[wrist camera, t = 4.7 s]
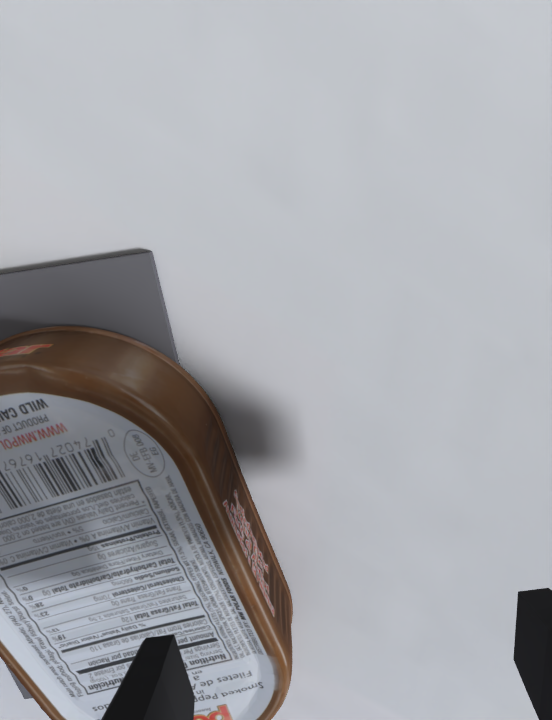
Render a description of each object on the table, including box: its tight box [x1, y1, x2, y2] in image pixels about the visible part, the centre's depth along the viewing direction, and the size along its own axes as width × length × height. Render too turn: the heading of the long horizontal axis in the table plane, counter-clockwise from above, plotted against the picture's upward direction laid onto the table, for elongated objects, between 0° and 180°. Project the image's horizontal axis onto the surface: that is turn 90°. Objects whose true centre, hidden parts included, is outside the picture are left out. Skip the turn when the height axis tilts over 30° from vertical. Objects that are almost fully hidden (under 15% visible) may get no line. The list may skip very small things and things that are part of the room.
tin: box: [0, 326, 293, 720], centre depth 14 cm, size 15×3×8 cm
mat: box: [0, 251, 180, 699], centre depth 15 cm, size 16×9×1 cm, turn 8°
